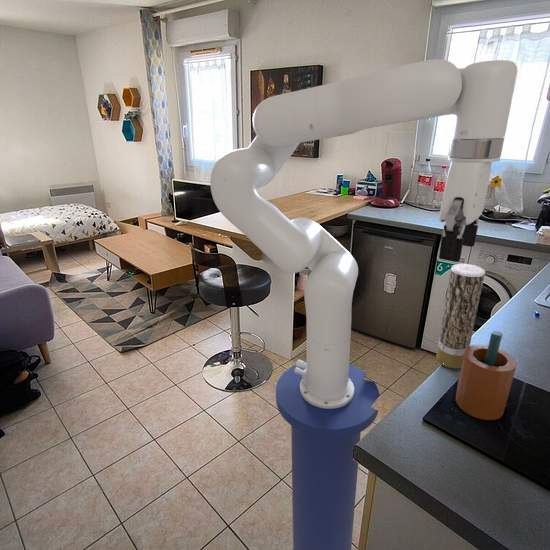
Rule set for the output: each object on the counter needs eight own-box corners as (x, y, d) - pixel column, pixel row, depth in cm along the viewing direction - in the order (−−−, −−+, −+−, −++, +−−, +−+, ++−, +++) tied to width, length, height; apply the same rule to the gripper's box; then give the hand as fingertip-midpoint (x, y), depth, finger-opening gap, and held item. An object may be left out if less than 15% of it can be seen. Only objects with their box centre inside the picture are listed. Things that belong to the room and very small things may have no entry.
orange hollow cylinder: (450, 407, 77) (459, 359, 72) (461, 384, 83) (471, 339, 78) (498, 427, 71) (512, 377, 67) (507, 401, 78) (520, 354, 73)
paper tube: (465, 357, 92) (484, 265, 83) (465, 372, 87) (486, 276, 77) (436, 351, 95) (451, 262, 85) (435, 366, 89) (451, 272, 80)
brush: (467, 403, 76) (483, 334, 70) (472, 393, 79) (487, 325, 73) (489, 412, 74) (507, 341, 68) (493, 401, 77) (510, 332, 70)
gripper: (463, 147, 66) (449, 237, 73) (432, 154, 54) (418, 262, 61) (511, 147, 62) (491, 243, 68) (489, 155, 50) (467, 271, 56)
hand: (457, 252), depth 64 cm, fingers open, 9 cm apart
